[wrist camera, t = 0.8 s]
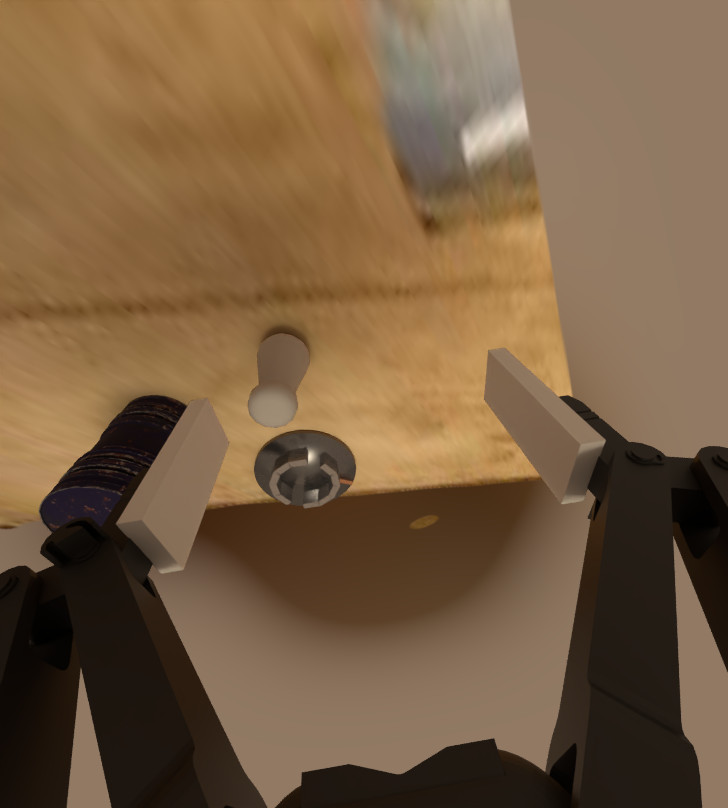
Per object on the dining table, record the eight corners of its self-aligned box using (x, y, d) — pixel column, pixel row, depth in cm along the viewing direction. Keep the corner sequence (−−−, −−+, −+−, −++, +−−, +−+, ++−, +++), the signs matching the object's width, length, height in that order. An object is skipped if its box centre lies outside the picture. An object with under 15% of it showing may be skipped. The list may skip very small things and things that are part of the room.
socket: (245, 491, 52) (241, 509, 49) (268, 418, 44) (265, 433, 42) (335, 508, 56) (336, 525, 53) (370, 444, 49) (373, 459, 46)
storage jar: (164, 381, 40) (93, 470, 28) (220, 435, 45) (180, 530, 33) (103, 415, 42) (10, 513, 29) (163, 463, 47) (105, 563, 35)
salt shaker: (250, 340, 38) (221, 401, 27) (292, 317, 37) (279, 372, 26) (279, 378, 41) (263, 447, 31) (319, 358, 40) (317, 422, 30)
